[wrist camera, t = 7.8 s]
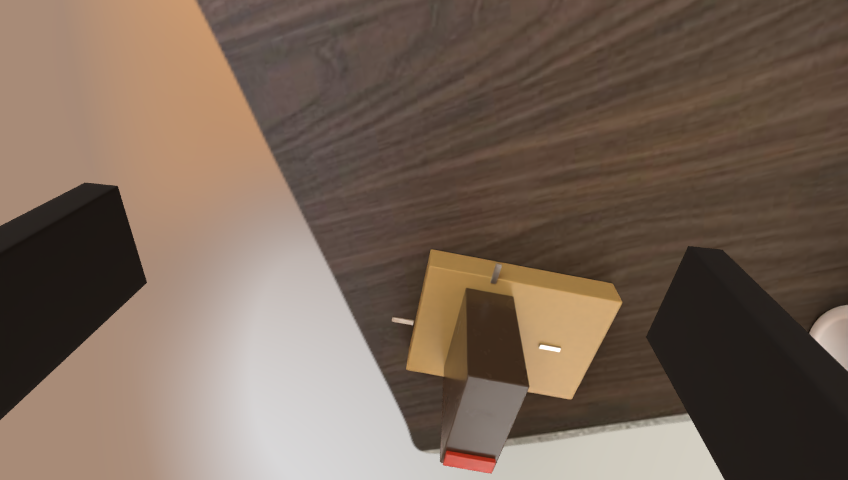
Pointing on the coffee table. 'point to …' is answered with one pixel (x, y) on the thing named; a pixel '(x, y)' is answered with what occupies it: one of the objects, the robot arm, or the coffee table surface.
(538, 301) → the plate
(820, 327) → the mug
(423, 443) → the coffee table surface
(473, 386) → the lock turn
